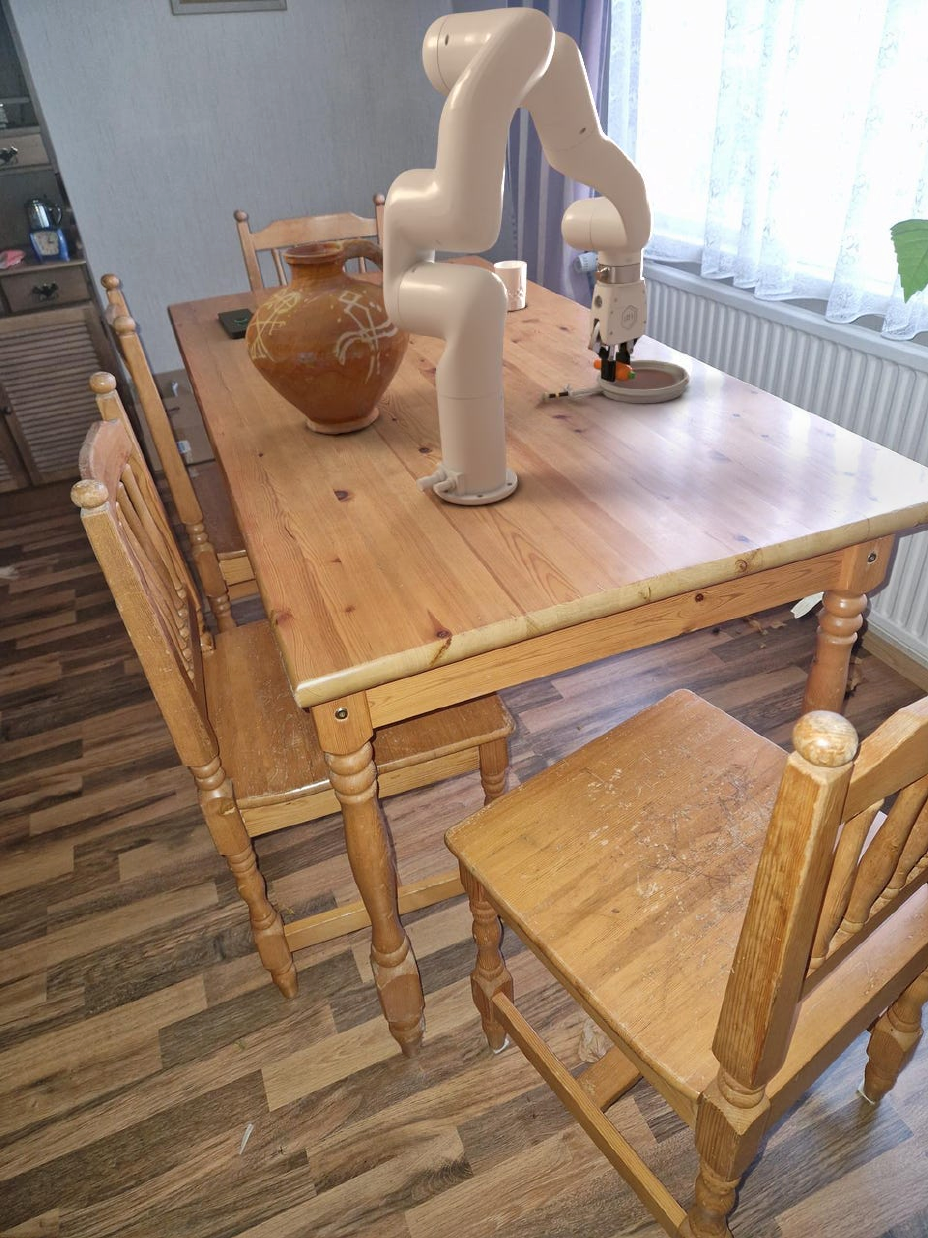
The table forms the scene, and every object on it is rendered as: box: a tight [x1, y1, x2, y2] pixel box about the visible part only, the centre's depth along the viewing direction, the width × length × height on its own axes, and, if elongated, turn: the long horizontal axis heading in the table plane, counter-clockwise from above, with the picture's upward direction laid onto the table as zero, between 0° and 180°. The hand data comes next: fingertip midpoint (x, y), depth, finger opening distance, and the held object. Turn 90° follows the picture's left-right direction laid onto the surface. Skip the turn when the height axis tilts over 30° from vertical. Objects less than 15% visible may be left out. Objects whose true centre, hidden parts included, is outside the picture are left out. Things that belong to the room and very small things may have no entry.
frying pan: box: [541, 359, 691, 405], centre depth 150 cm, size 17×3×28 cm
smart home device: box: [217, 307, 254, 340], centre depth 203 cm, size 8×2×20 cm
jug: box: [244, 238, 411, 435], centre depth 139 cm, size 28×28×30 cm
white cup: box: [493, 260, 527, 312], centre depth 198 cm, size 8×8×10 cm
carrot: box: [592, 358, 636, 382], centre depth 149 cm, size 10×3×3 cm, turn 36°
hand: (615, 376), depth 149 cm, fingers closed on carrot, 2 cm apart
